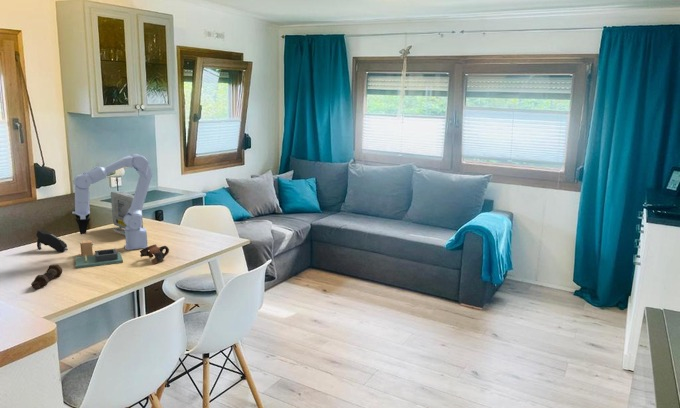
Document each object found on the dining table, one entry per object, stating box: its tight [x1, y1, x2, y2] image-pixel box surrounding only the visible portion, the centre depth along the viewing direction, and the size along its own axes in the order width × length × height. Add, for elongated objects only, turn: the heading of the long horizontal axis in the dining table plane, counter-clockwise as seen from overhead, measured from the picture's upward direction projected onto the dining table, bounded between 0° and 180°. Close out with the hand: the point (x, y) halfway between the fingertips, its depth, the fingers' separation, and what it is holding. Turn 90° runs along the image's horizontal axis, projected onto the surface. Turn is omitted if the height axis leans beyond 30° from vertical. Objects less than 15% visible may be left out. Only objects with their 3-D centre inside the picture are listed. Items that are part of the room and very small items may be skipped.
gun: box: [36, 229, 69, 253], centre depth 233 cm, size 3×16×10 cm, turn 79°
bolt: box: [30, 264, 64, 290], centre depth 193 cm, size 6×5×15 cm
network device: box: [110, 190, 144, 236], centre depth 265 cm, size 26×9×20 cm, turn 49°
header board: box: [75, 248, 124, 269], centre depth 219 cm, size 18×13×4 cm
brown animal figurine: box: [139, 244, 170, 265], centre depth 222 cm, size 12×10×8 cm
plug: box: [79, 239, 94, 256], centre depth 227 cm, size 5×4×6 cm
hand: (82, 231), depth 226 cm, fingers open, 7 cm apart
